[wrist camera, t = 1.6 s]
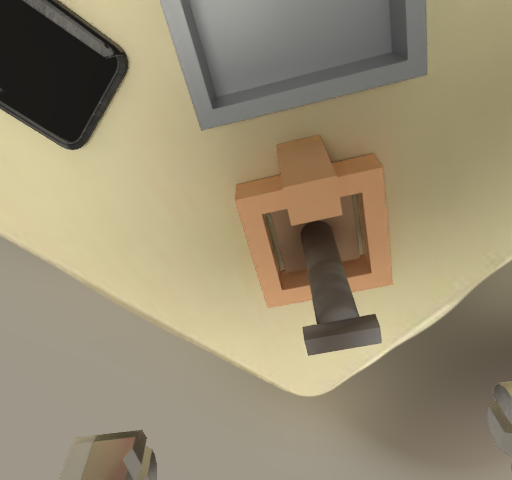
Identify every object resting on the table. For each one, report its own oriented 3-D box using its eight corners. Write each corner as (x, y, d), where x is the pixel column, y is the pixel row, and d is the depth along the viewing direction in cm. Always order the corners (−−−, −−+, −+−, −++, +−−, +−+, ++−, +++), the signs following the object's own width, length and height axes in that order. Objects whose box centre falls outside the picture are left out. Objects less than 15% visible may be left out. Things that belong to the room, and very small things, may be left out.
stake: (348, 185, 30) (396, 288, 20) (357, 250, 33) (402, 369, 23) (269, 202, 31) (276, 310, 21) (284, 265, 34) (298, 386, 24)
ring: (370, 122, 28) (402, 161, 22) (384, 265, 34) (411, 325, 28) (227, 156, 29) (221, 201, 23) (266, 288, 35) (269, 350, 29)
